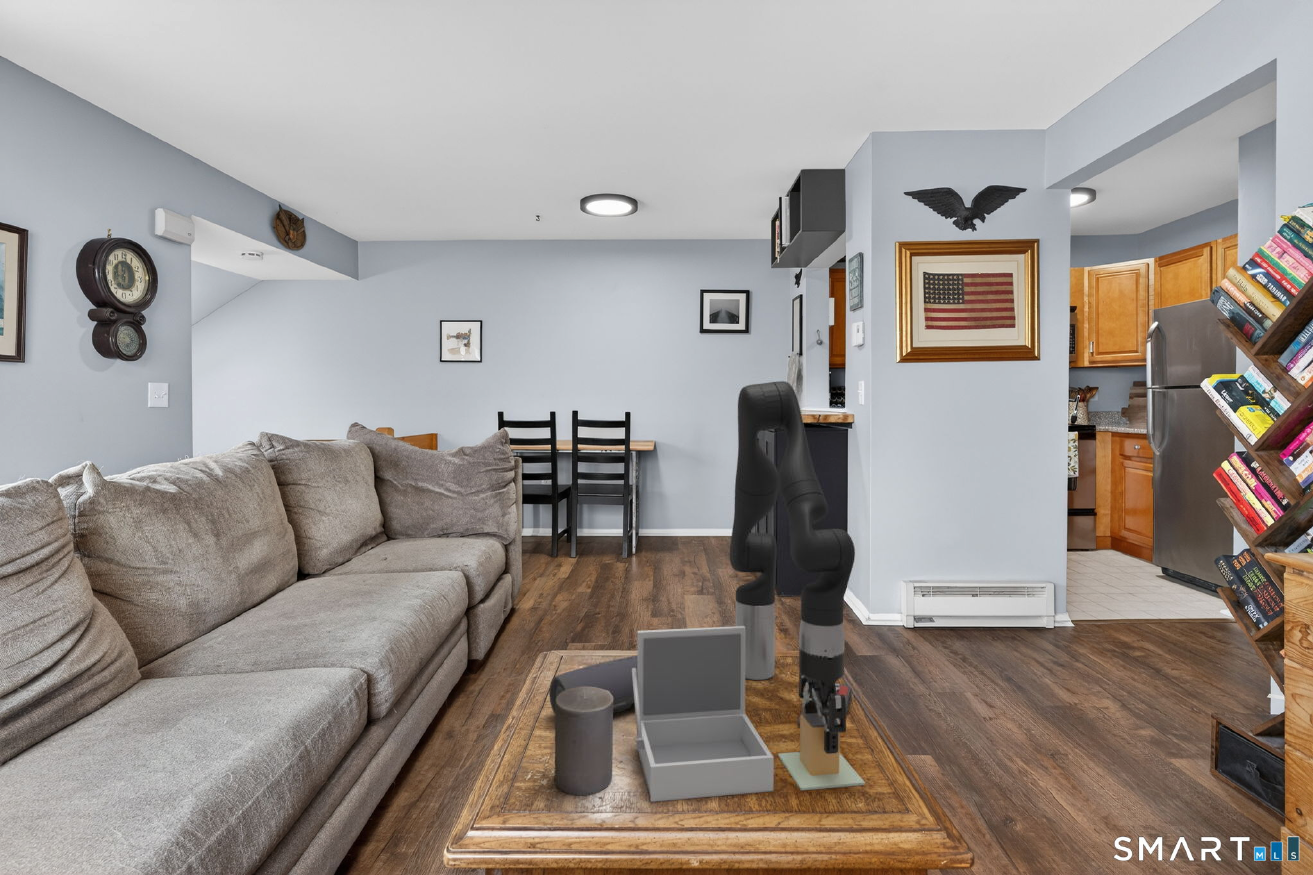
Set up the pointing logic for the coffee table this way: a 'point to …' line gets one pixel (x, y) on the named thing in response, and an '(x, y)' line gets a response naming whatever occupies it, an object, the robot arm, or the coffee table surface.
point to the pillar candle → (583, 740)
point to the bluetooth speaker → (600, 681)
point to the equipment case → (696, 715)
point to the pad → (808, 782)
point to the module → (816, 747)
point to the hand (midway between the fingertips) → (820, 739)
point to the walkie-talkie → (841, 690)
